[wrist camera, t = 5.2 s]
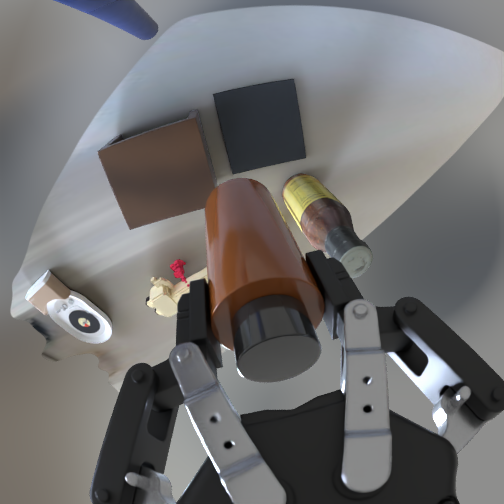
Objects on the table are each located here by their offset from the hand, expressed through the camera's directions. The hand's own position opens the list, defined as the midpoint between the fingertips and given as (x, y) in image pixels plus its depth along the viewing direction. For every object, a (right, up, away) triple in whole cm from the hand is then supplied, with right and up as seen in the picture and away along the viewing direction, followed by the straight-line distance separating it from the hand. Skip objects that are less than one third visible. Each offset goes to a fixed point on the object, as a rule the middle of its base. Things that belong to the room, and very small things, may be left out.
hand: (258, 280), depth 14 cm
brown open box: (-12, +14, +24) cm, 31 cm away
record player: (-37, -11, +37) cm, 54 cm away
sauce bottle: (+7, +11, +30) cm, 33 cm away
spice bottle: (-1, +4, +6) cm, 7 cm away
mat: (+1, +19, +24) cm, 30 cm away
